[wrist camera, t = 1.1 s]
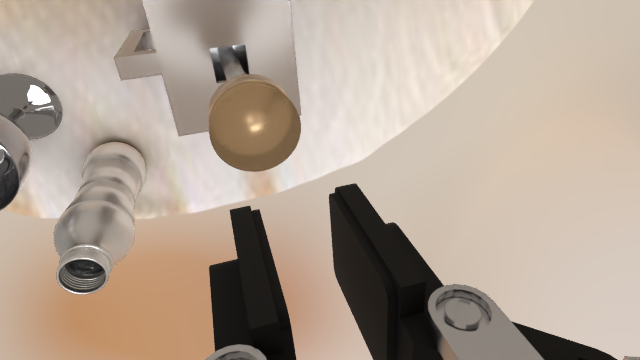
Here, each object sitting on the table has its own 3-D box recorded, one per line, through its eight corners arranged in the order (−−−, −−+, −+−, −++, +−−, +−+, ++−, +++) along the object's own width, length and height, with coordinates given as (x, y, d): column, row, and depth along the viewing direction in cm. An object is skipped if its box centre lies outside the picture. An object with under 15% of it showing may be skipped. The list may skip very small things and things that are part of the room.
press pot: (250, -30, 43) (288, -16, 27) (263, 60, 47) (301, 115, 32) (124, -18, 40) (85, 5, 24) (151, 75, 45) (132, 144, 29)
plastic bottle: (152, 142, 48) (134, 245, 31) (143, 191, 51) (122, 310, 34) (91, 130, 46) (36, 235, 29) (84, 182, 48) (30, 307, 32)
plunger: (259, -8, 33) (330, 35, 17) (271, 79, 37) (338, 184, 21) (167, 2, 32) (147, 59, 15) (188, 92, 35) (191, 215, 19)
